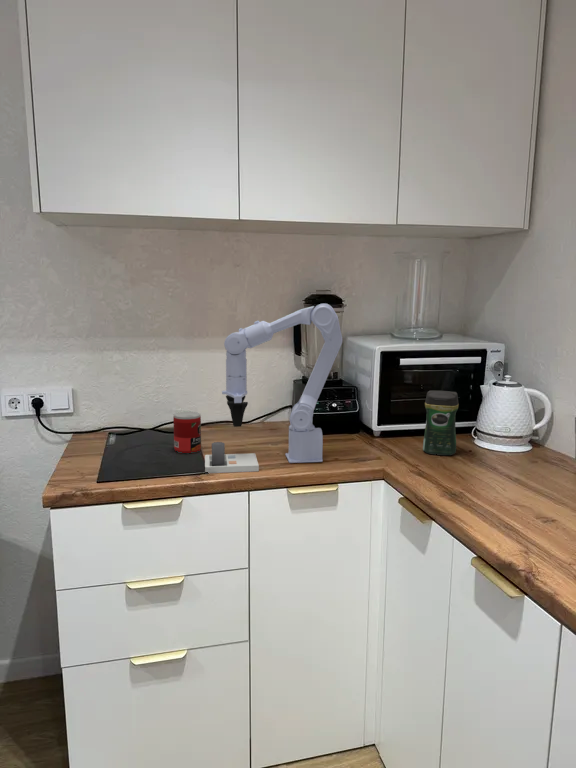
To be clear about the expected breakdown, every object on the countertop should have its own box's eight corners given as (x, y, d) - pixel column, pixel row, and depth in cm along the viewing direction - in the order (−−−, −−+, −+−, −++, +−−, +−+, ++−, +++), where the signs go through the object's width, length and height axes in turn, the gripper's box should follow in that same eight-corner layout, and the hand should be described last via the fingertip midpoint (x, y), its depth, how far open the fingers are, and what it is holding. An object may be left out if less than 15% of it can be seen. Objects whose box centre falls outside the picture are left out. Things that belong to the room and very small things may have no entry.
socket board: (254, 458, 162) (254, 452, 162) (258, 471, 151) (258, 464, 151) (204, 460, 160) (204, 454, 159) (205, 473, 149) (205, 466, 149)
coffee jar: (456, 450, 172) (460, 389, 169) (455, 457, 165) (459, 394, 162) (423, 447, 176) (427, 387, 172) (420, 454, 168) (424, 392, 165)
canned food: (195, 455, 165) (195, 417, 163) (169, 453, 166) (168, 416, 164) (204, 447, 172) (204, 412, 170) (179, 445, 174) (179, 410, 172)
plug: (224, 466, 154) (224, 441, 153) (225, 470, 151) (224, 445, 150) (211, 467, 154) (211, 442, 153) (212, 471, 151) (211, 445, 149)
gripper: (221, 371, 166) (221, 417, 168) (222, 380, 152) (223, 429, 154) (245, 371, 167) (245, 416, 169) (249, 379, 153) (249, 429, 155)
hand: (236, 423), depth 162 cm, fingers open, 7 cm apart
